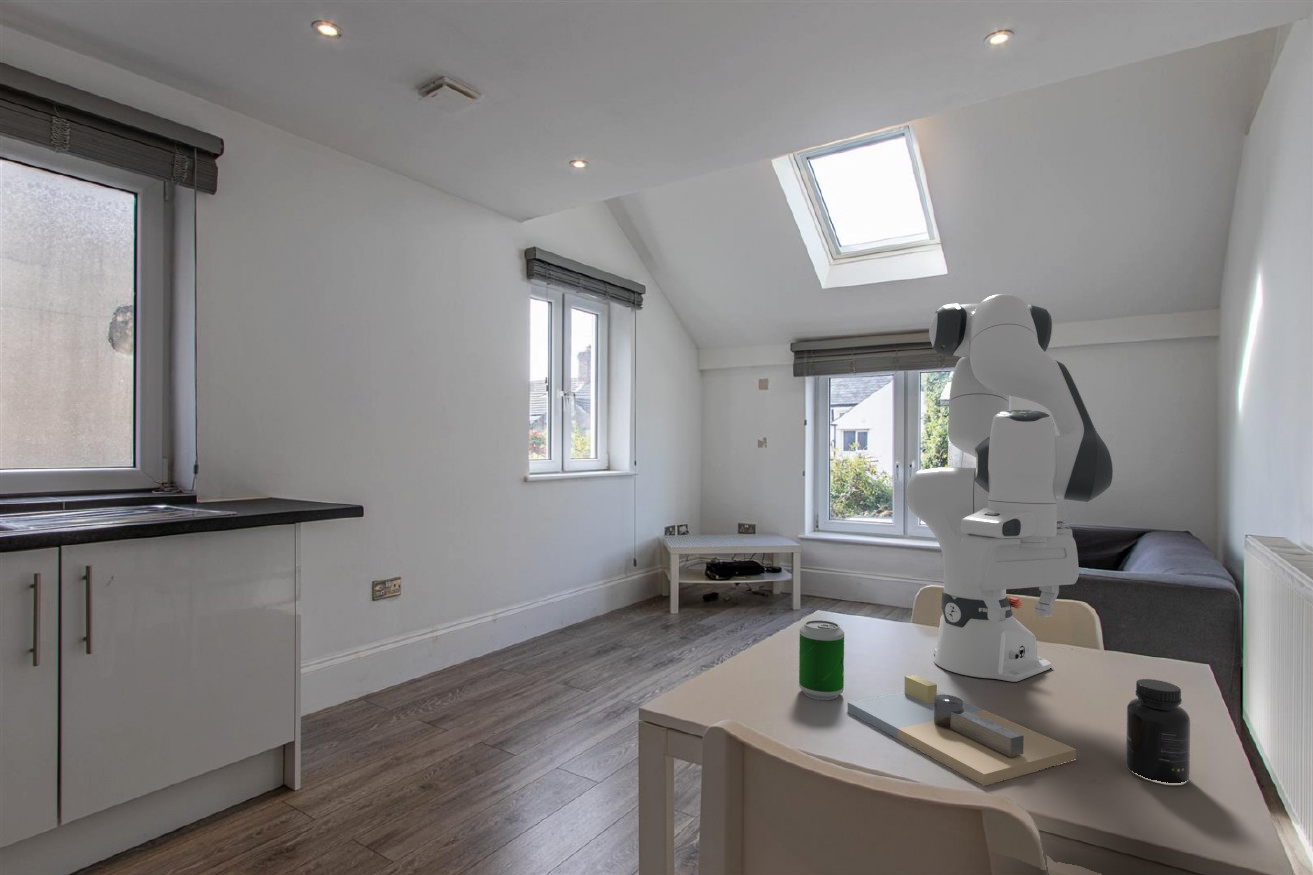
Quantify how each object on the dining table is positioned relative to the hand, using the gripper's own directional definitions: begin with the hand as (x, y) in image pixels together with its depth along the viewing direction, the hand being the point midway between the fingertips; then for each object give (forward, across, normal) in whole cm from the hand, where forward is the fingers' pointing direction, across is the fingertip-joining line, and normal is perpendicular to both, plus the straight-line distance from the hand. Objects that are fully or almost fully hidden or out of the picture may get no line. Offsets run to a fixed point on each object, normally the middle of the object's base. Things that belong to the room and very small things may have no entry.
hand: (1020, 618), depth 98 cm
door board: (+19, +6, -7) cm, 21 cm away
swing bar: (+17, +6, -3) cm, 18 cm away
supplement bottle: (+19, -11, +12) cm, 25 cm away
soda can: (+19, +14, -28) cm, 36 cm away
